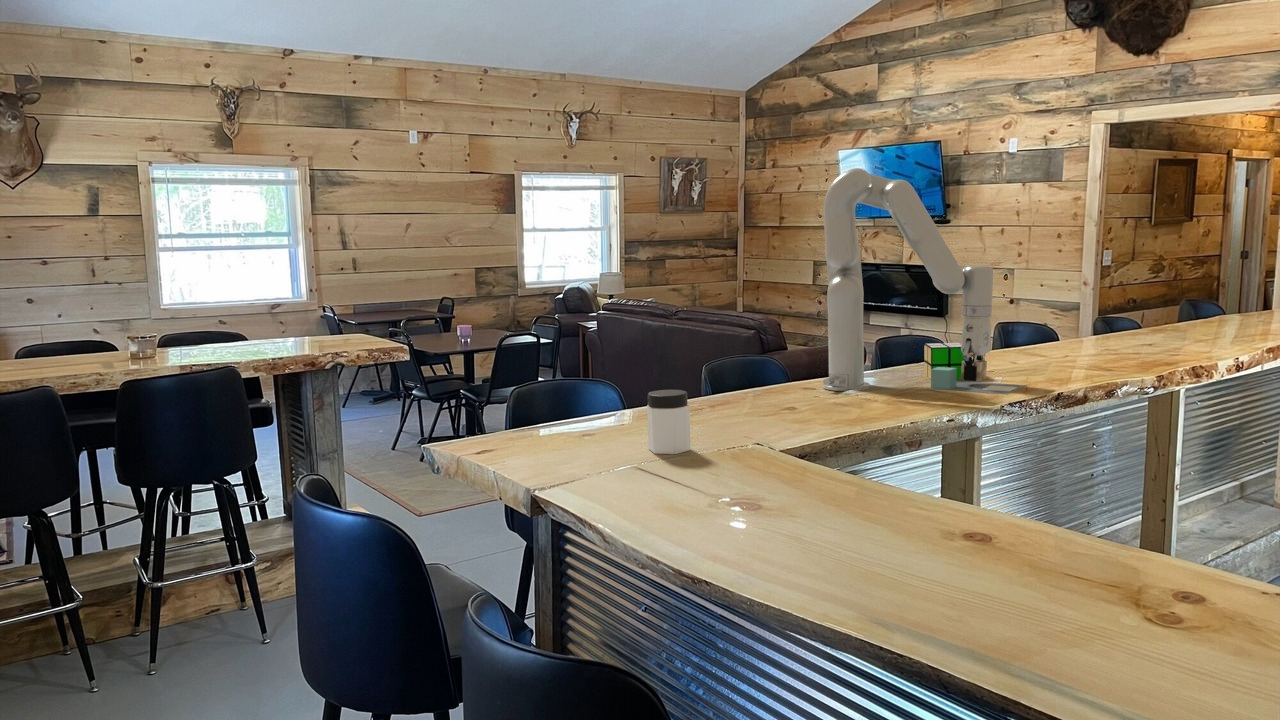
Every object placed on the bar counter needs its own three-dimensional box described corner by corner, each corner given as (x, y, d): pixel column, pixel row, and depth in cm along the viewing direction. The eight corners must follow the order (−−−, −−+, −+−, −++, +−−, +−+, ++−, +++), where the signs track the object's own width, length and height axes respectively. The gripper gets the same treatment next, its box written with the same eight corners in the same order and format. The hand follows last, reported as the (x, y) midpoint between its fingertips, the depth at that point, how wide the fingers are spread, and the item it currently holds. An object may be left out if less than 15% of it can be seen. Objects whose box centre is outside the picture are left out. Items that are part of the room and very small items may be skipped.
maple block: (979, 381, 246) (980, 362, 245) (960, 379, 249) (961, 361, 248) (986, 379, 250) (986, 360, 249) (967, 377, 253) (968, 359, 252)
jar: (670, 443, 197) (668, 387, 195) (698, 448, 191) (696, 391, 189) (640, 451, 191) (637, 393, 189) (667, 456, 185) (665, 397, 183)
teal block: (949, 389, 245) (949, 370, 244) (930, 387, 248) (930, 369, 247) (956, 386, 249) (956, 368, 248) (938, 385, 252) (938, 367, 251)
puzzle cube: (959, 376, 271) (959, 342, 269) (967, 381, 261) (967, 346, 259) (923, 377, 272) (923, 343, 270) (931, 382, 262) (931, 347, 260)
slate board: (1007, 397, 234) (1007, 394, 234) (926, 391, 247) (926, 388, 247) (1027, 388, 246) (1027, 384, 246) (949, 382, 259) (949, 379, 259)
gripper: (979, 315, 238) (976, 384, 241) (1001, 310, 251) (998, 376, 254) (950, 313, 243) (948, 382, 245) (973, 309, 256) (971, 374, 258)
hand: (973, 378), depth 249 cm, fingers closed on maple block, 5 cm apart
